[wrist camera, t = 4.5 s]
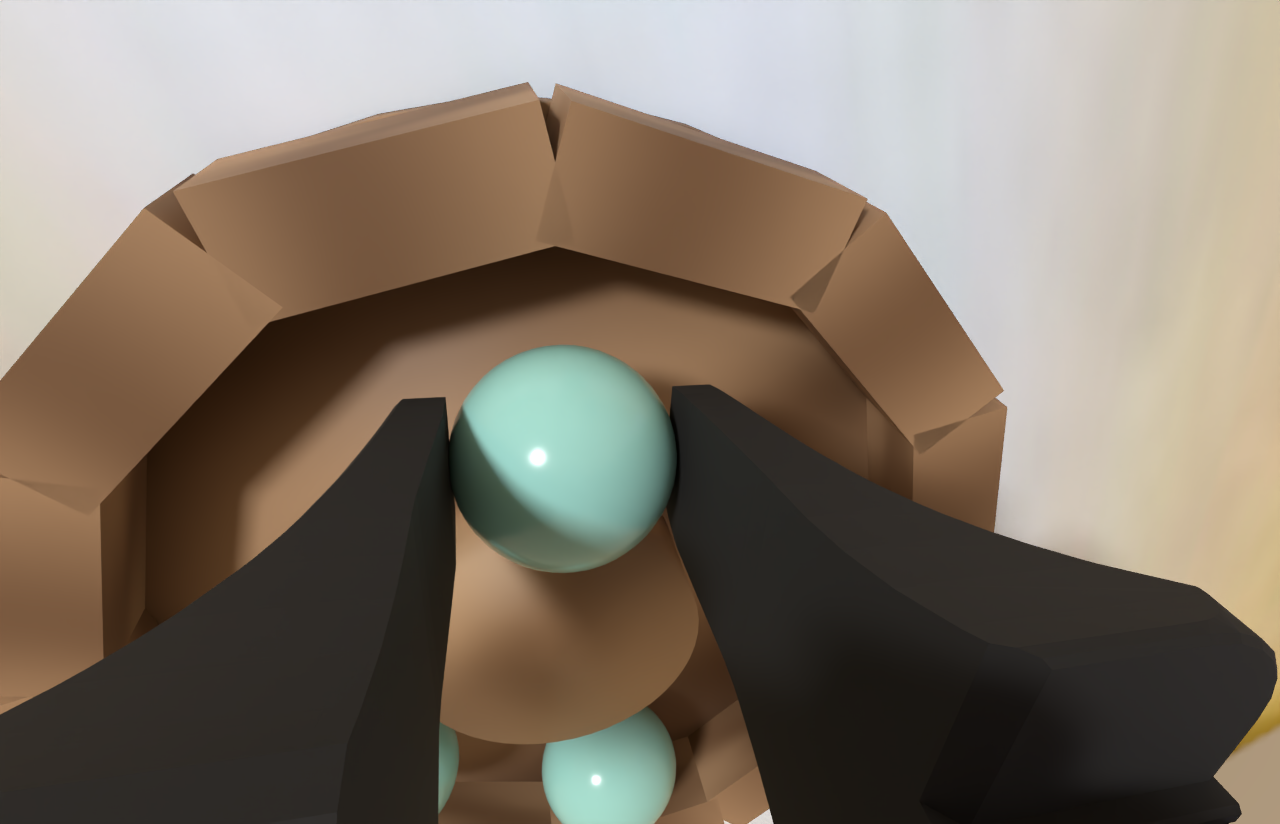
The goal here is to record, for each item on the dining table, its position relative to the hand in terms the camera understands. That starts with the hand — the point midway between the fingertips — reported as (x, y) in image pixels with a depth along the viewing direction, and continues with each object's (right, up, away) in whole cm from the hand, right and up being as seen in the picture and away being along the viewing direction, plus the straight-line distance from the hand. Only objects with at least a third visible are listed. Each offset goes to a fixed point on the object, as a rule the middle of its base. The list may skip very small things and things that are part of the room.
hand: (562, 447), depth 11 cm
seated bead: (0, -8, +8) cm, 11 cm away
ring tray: (-1, -3, +6) cm, 7 cm away
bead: (0, +1, +1) cm, 1 cm away
